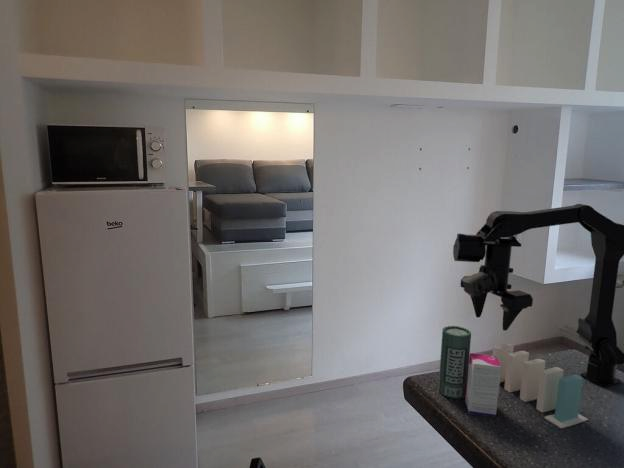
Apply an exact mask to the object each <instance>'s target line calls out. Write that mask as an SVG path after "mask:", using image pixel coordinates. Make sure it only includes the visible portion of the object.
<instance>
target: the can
mask: <svg viewBox="0 0 624 468" xmlns="http://www.w3.org/2000/svg"><path fill="white" fill-rule="evenodd" d="M471 340H472V332H471V330H469V329H468V328H465V327H462V326H458V325H448V326H444V327H442V332H441V346H440V361H439V362H440V363H439V374H438V375H439V376H438V388H439V389H438V393H440V395H442V396H445V395H446V396H445V397H447V396H448V397H451V398H450V399H456V400H457V399H462V398H465V396H466V386H467V377H468V368H469V358H470V352H471V351H470V350H471Z"/></svg>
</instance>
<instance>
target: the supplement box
mask: <svg viewBox="0 0 624 468" xmlns="http://www.w3.org/2000/svg"><path fill="white" fill-rule="evenodd" d="M500 375H501V365H500V363H499V361H498V359H497V357H496V356H492V355H490V354H488V355H487V354H482V353H481V354H480V353H473V352H472V353H470V354H469V366H468V377H467V386H466V395H465V397H464V402H465V405H466V411H467V414H471V415H479V416H486V417H495V418H496V417H497V412H498V411H497V410H498V401H499V391H500V384H501V382H500Z"/></svg>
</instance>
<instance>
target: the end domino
mask: <svg viewBox="0 0 624 468" xmlns="http://www.w3.org/2000/svg"><path fill="white" fill-rule="evenodd" d="M583 382H584V377H582V376H580V375H578V374H572V375H569V376H565V377H564V376H563V377H562V378H559V385H558V393H557V401H556V409H554V414H555V419H557V420H558V421H560V422H564V421H567V420H571V419H574V418H578V414H580V413H579V412H580V405H581V397H582V391H583V390H582V388H583Z"/></svg>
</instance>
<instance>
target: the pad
mask: <svg viewBox="0 0 624 468" xmlns="http://www.w3.org/2000/svg"><path fill="white" fill-rule="evenodd" d="M544 419H545V420H546V421H548V422H549V423H551V424H553V425H555V426H557V427H558V428H560V429H561V430H562V429H564V428H568V427H571V426H575V425H577V424H580V423H581V424H582V423H584V422H587V421H589V419H588V418H587V417H585V416H583V415H582V414H580V413H579V414H578V418H574V419H571V420H567V421H564V422H560V421H558V420H557V419H555V413H553V414H550V415H549V414H548V415H545V416H544Z"/></svg>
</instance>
